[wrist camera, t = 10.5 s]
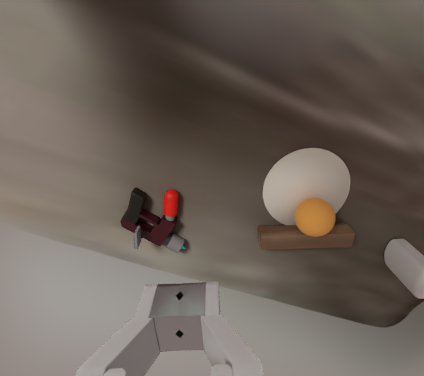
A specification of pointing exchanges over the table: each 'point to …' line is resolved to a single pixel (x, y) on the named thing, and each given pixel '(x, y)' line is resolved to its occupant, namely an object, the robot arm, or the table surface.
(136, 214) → the toy gun
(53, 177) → the table surface
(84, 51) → the table surface
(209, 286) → the robot arm
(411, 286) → the eye dropper bottle
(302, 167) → the white flat disc
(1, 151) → the table surface
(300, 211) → the ball
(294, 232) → the rail
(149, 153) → the table surface
